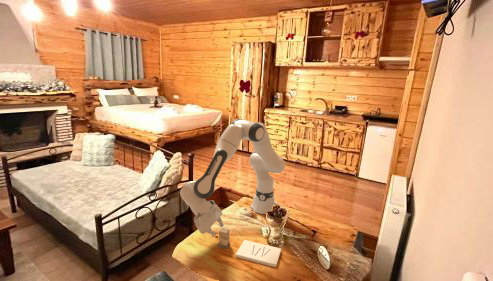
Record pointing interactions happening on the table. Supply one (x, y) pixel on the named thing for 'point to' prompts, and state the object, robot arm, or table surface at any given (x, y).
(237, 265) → the table surface
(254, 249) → the board
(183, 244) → the table surface
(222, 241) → the block
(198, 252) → the table surface
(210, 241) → the table surface
